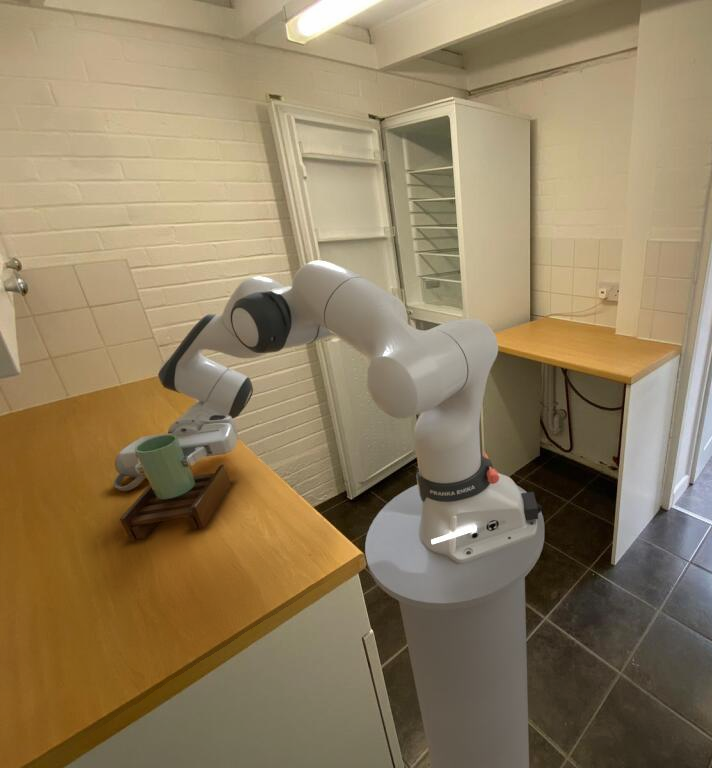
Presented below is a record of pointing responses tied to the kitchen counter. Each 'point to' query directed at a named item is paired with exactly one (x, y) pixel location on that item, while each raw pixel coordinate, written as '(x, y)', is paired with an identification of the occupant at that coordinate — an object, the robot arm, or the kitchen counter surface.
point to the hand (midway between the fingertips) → (163, 466)
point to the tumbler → (165, 466)
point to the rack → (177, 505)
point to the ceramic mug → (129, 473)
